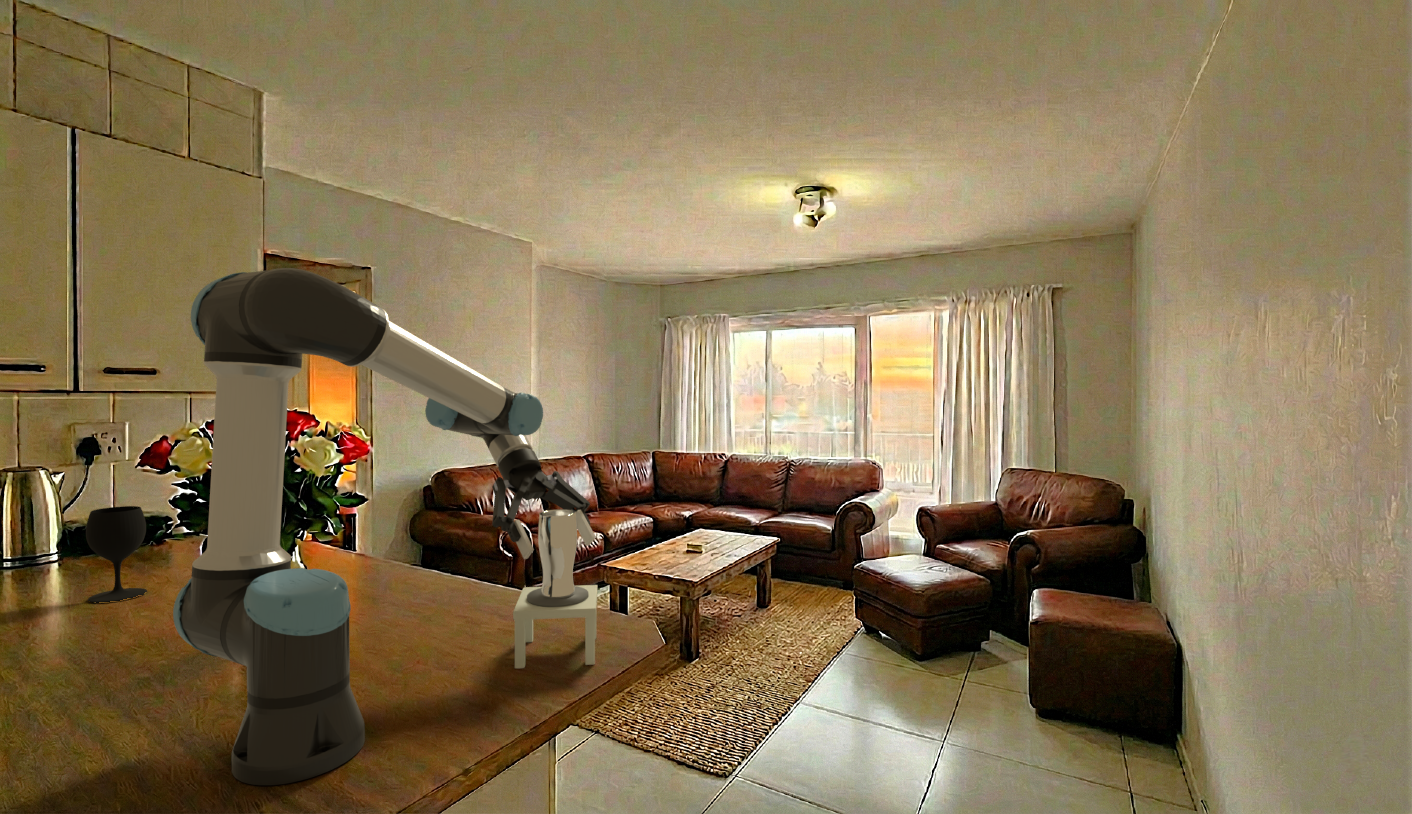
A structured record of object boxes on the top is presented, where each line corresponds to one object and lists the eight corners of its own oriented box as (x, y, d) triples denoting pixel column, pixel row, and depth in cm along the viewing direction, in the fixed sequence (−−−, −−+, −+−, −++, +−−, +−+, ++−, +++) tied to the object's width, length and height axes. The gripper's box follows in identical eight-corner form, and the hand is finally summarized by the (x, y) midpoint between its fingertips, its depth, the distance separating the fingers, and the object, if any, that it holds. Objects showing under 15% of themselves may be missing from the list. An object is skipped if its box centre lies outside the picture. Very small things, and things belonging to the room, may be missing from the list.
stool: (513, 668, 117) (513, 608, 117) (523, 638, 131) (523, 584, 131) (595, 664, 119) (595, 604, 119) (597, 635, 133) (597, 581, 133)
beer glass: (568, 600, 121) (568, 516, 120) (531, 598, 122) (531, 515, 122) (583, 589, 128) (582, 509, 127) (548, 587, 129) (548, 508, 129)
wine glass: (155, 594, 157) (153, 508, 157) (97, 606, 149) (94, 515, 148) (137, 587, 163) (135, 503, 162) (80, 598, 154) (78, 510, 154)
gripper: (560, 465, 145) (605, 547, 135) (448, 477, 126) (491, 573, 117) (575, 442, 141) (623, 525, 132) (462, 450, 123) (508, 547, 113)
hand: (561, 547), depth 124 cm, fingers open, 13 cm apart
